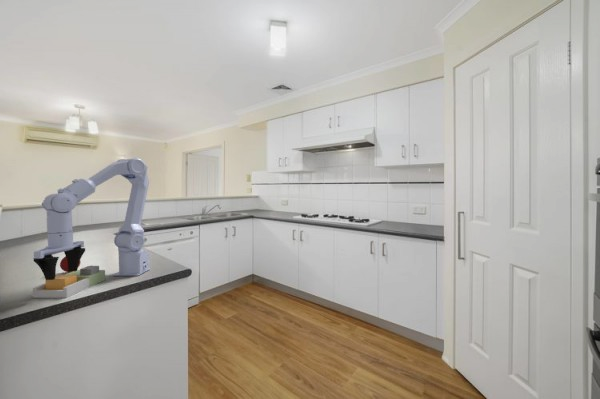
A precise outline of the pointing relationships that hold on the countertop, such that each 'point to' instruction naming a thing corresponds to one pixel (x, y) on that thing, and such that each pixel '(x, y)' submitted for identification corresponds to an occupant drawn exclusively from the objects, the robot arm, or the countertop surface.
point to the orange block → (60, 282)
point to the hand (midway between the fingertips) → (62, 275)
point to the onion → (65, 265)
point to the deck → (84, 280)
